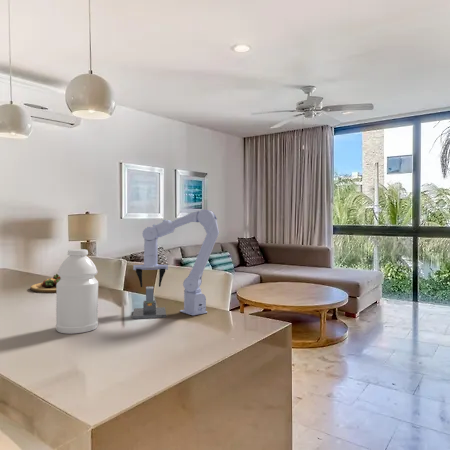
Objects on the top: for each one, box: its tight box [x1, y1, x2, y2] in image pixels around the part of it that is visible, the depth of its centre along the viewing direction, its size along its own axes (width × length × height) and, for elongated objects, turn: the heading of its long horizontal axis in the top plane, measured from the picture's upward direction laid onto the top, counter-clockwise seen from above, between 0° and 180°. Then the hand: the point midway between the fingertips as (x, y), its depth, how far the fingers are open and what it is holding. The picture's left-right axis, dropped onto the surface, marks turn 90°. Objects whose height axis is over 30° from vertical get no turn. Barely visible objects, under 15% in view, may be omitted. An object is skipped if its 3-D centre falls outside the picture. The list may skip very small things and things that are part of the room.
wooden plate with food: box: [30, 273, 61, 294], centre depth 212 cm, size 32×32×8 cm
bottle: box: [55, 248, 99, 335], centre depth 130 cm, size 14×14×28 cm
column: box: [145, 285, 154, 303], centre depth 152 cm, size 3×3×7 cm
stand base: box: [132, 299, 167, 320], centre depth 152 cm, size 13×13×5 cm
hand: (150, 286), depth 158 cm, fingers open, 7 cm apart
